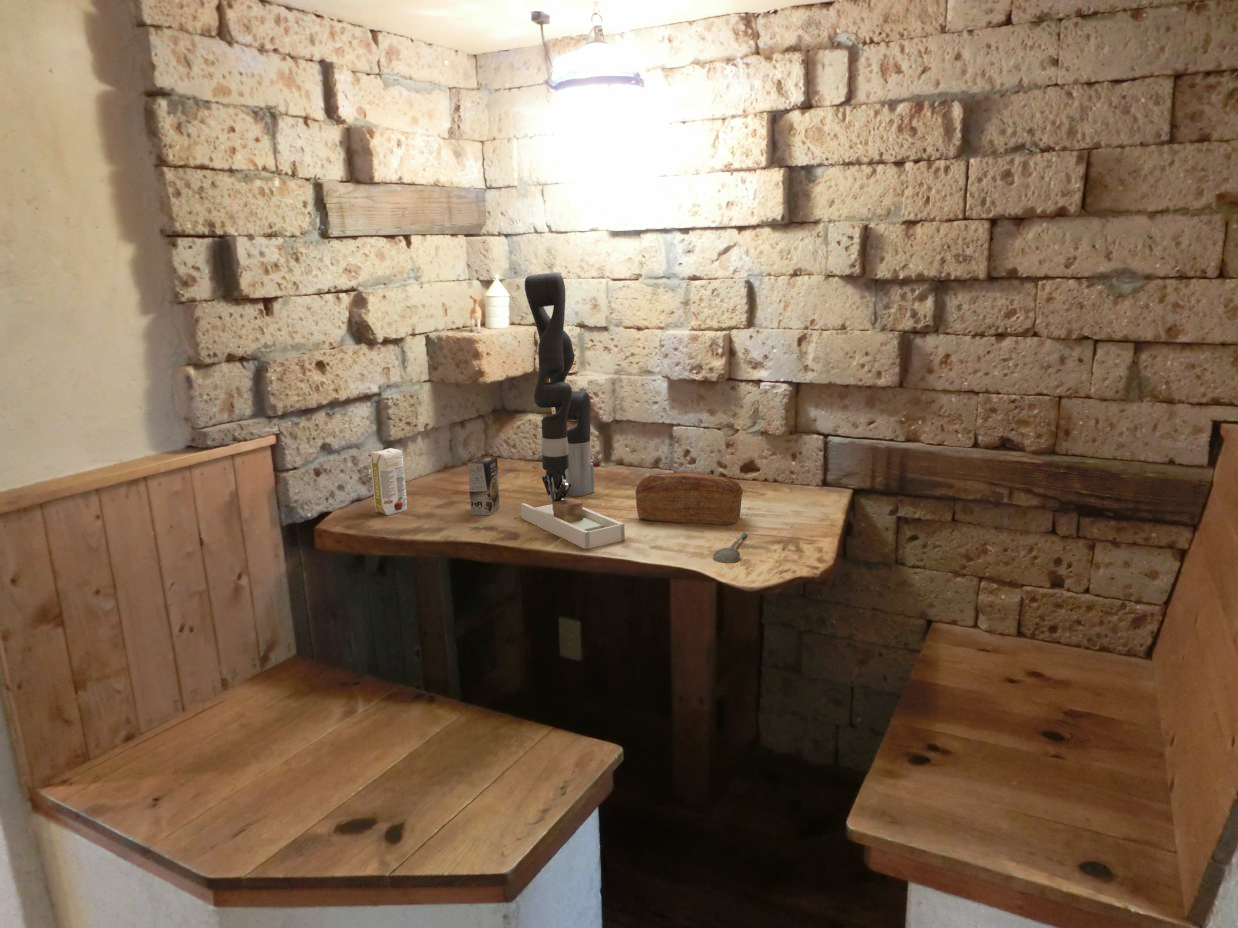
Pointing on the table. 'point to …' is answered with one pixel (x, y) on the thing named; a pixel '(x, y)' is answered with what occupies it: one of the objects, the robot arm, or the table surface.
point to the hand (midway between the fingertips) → (557, 510)
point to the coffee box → (484, 485)
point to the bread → (689, 498)
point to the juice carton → (388, 481)
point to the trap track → (576, 526)
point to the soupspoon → (729, 552)
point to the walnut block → (568, 510)
